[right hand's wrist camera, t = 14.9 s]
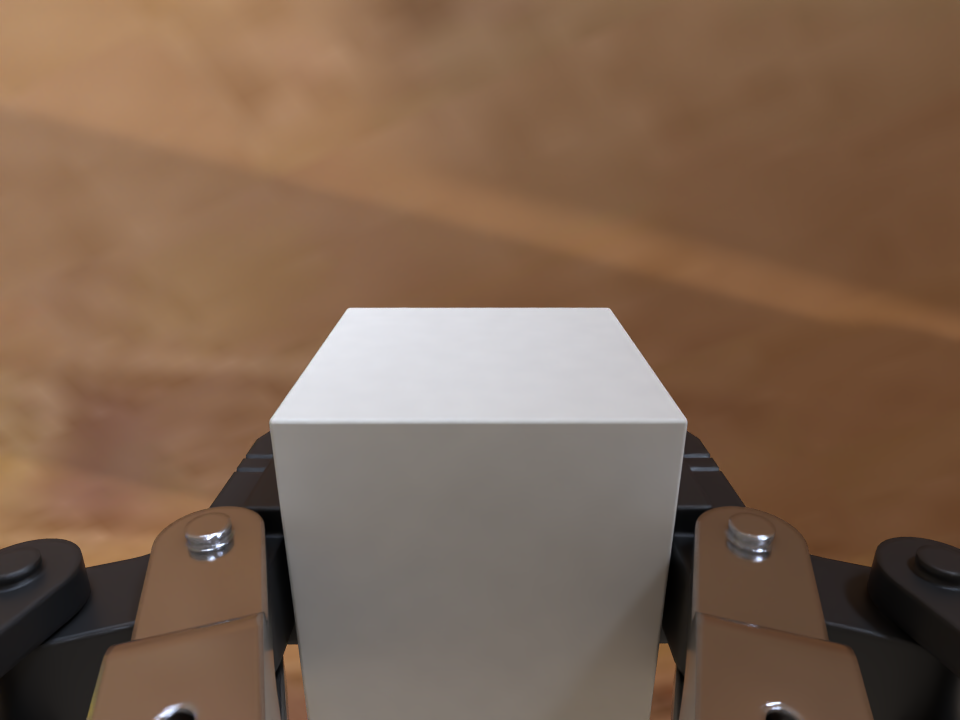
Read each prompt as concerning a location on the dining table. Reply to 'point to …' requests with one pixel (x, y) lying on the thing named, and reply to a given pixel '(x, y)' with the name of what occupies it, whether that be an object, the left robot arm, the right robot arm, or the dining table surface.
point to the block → (478, 515)
